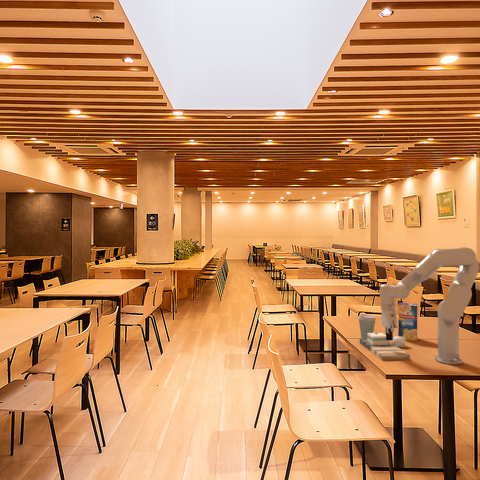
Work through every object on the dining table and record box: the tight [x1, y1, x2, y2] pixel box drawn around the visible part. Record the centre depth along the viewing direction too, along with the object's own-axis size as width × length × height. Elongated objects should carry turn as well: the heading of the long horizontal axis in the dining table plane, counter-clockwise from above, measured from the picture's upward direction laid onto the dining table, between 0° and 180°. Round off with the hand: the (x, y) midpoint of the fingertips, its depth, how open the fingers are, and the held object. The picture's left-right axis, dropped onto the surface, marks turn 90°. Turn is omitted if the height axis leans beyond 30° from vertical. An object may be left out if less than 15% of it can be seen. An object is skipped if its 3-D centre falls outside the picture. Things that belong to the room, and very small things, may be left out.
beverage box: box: [397, 302, 418, 342], centre depth 236 cm, size 7×11×22 cm, turn 66°
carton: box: [367, 331, 388, 345], centre depth 218 cm, size 8×9×6 cm
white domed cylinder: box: [391, 335, 406, 349], centre depth 221 cm, size 7×7×5 cm
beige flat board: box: [359, 338, 411, 361], centre depth 211 cm, size 32×15×2 cm, turn 2°
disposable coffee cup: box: [357, 313, 376, 339], centre depth 236 cm, size 11×11×15 cm
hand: (389, 339), depth 205 cm, fingers closed
